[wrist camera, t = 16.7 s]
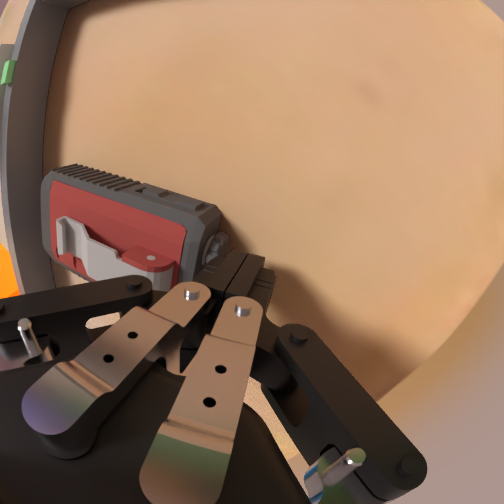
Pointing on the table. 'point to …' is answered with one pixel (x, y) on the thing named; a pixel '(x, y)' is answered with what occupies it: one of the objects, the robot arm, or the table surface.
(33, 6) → the cradle
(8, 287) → the orange juice
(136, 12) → the table surface
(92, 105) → the table surface
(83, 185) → the walkie-talkie
